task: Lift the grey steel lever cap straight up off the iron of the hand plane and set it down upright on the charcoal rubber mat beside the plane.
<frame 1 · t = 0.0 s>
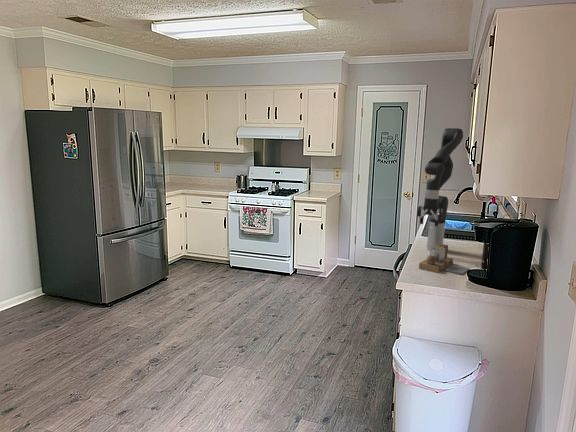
hand: (428, 225, 249), 17 cm above the countertop, tool pointing down, fingers open, 8 cm apart
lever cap: (436, 259, 228), point 3 cm above the countertop, touching plane body
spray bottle: (490, 270, 224), on the countertop
rubber mat: (457, 270, 222), on the countertop
plane body: (436, 265, 229), on the countertop
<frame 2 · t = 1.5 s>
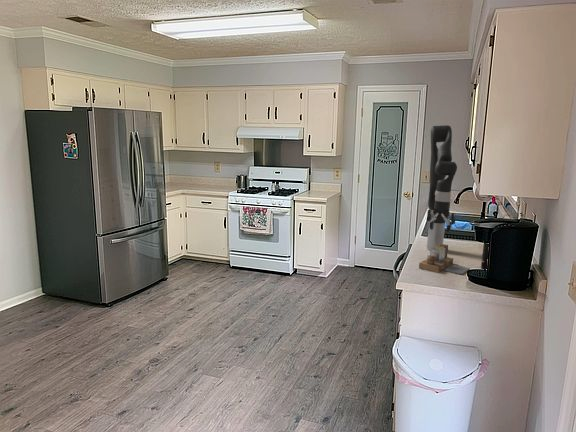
hand: (439, 230, 225), 19 cm above the countertop, tool pointing down, fingers open, 8 cm apart
nothing on the countertop moved.
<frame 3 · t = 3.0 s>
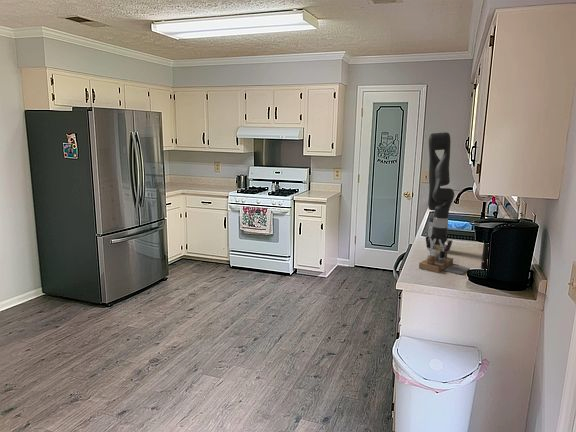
hand: (437, 257, 228), 5 cm above the countertop, tool pointing down, fingers closed on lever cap, 5 cm apart
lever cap: (436, 259, 228), point 3 cm above the countertop, touching gripper, plane body
everything else where it was.
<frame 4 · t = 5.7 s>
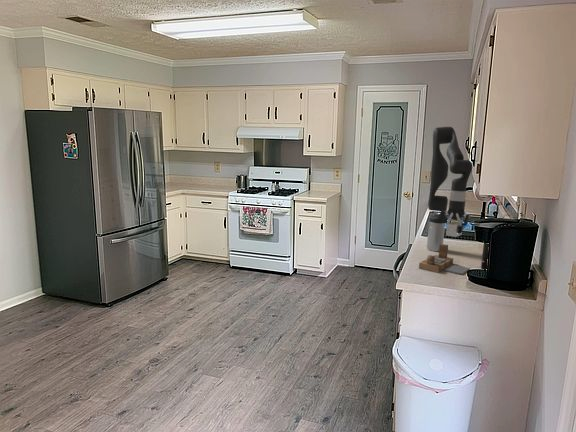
hand: (454, 232, 220), 20 cm above the countertop, tool pointing down, fingers closed on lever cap, 5 cm apart
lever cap: (453, 235, 220), point 18 cm above the countertop, touching gripper
everything else where it was.
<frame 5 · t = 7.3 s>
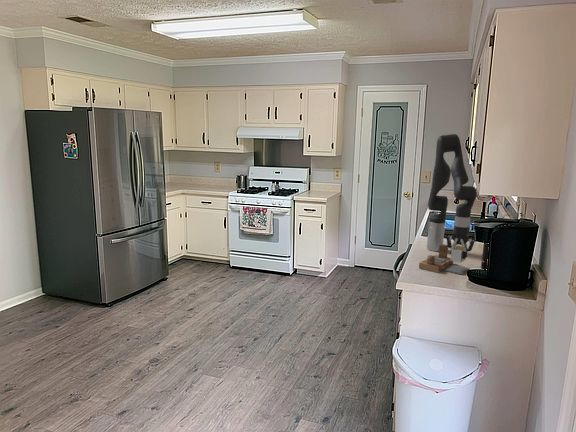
hand: (458, 257, 221), 7 cm above the countertop, tool pointing down, fingers closed on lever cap, 5 cm apart
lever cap: (458, 260, 221), point 6 cm above the countertop, touching gripper
everything else where it was.
when the fingers open (4 cm above the countertop, at t = 8.4 s): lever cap drops 1 cm, resting on rubber mat.
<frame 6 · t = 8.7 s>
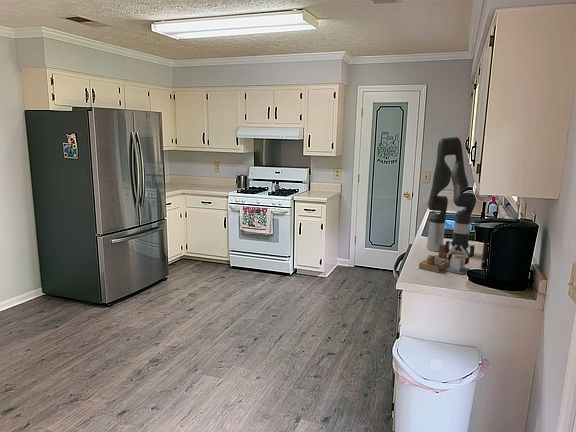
hand: (458, 262, 221), 4 cm above the countertop, tool pointing down, fingers open, 7 cm apart
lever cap: (457, 268, 222), point 1 cm above the countertop, touching rubber mat
everything else where it was.
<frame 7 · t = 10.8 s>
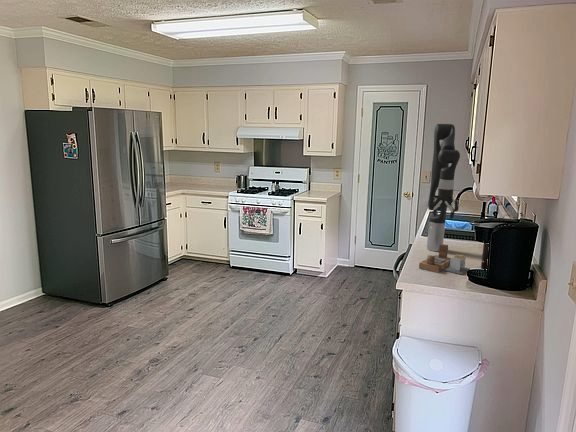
hand: (443, 217, 230), 25 cm above the countertop, tool pointing down, fingers open, 8 cm apart
nothing on the countertop moved.
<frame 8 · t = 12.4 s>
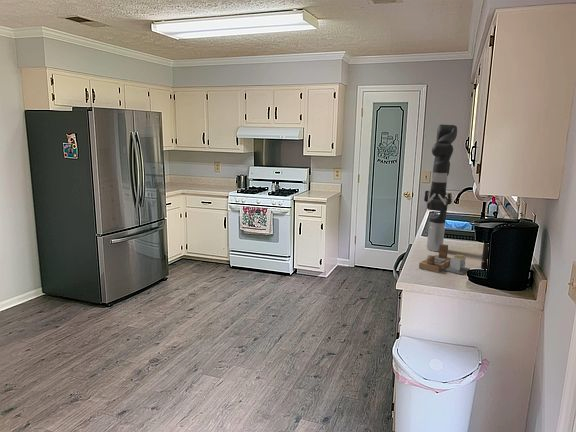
hand: (436, 210, 234), 28 cm above the countertop, tool pointing down, fingers open, 8 cm apart
nothing on the countertop moved.
at the end: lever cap inside the target area on the rubber mat (0.1 cm from its centre), point 0.8 cm above the rubber mat's base; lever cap tilted 0°; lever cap touching rubber mat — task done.
